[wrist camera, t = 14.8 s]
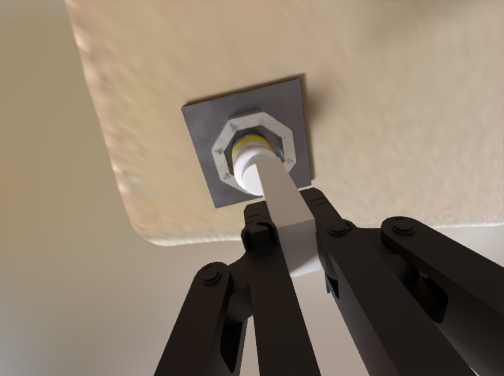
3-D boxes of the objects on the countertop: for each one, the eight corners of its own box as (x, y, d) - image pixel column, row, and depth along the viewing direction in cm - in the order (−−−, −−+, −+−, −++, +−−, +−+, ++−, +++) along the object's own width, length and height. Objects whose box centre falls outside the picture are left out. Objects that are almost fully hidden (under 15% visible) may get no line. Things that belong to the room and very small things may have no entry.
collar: (297, 78, 31) (305, 79, 28) (309, 182, 39) (316, 192, 36) (182, 106, 32) (177, 110, 28) (215, 204, 39) (214, 217, 36)
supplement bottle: (265, 170, 36) (279, 204, 27) (229, 166, 35) (231, 200, 26) (273, 134, 33) (291, 158, 24) (234, 129, 32) (238, 152, 23)
